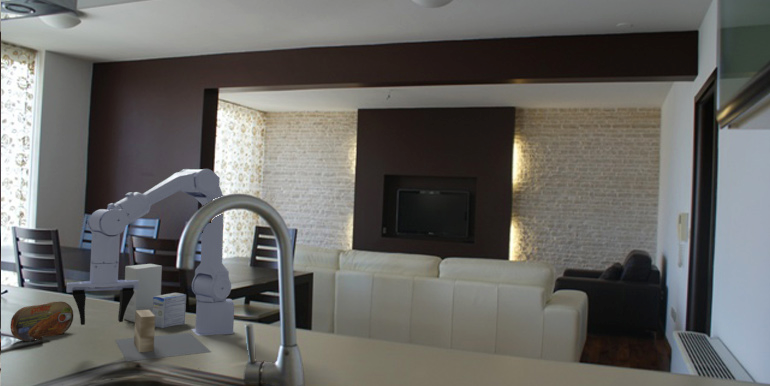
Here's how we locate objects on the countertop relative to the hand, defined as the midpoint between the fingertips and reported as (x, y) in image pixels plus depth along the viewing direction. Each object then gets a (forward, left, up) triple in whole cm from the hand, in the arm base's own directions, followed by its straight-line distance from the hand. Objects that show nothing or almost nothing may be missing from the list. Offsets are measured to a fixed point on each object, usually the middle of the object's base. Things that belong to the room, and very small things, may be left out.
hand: (101, 322), depth 127 cm
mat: (-13, 0, -7) cm, 15 cm away
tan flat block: (-9, 0, -7) cm, 11 cm away
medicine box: (-19, -22, -8) cm, 30 cm away
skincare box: (-14, -34, -7) cm, 38 cm away
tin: (+11, -22, -8) cm, 26 cm away
